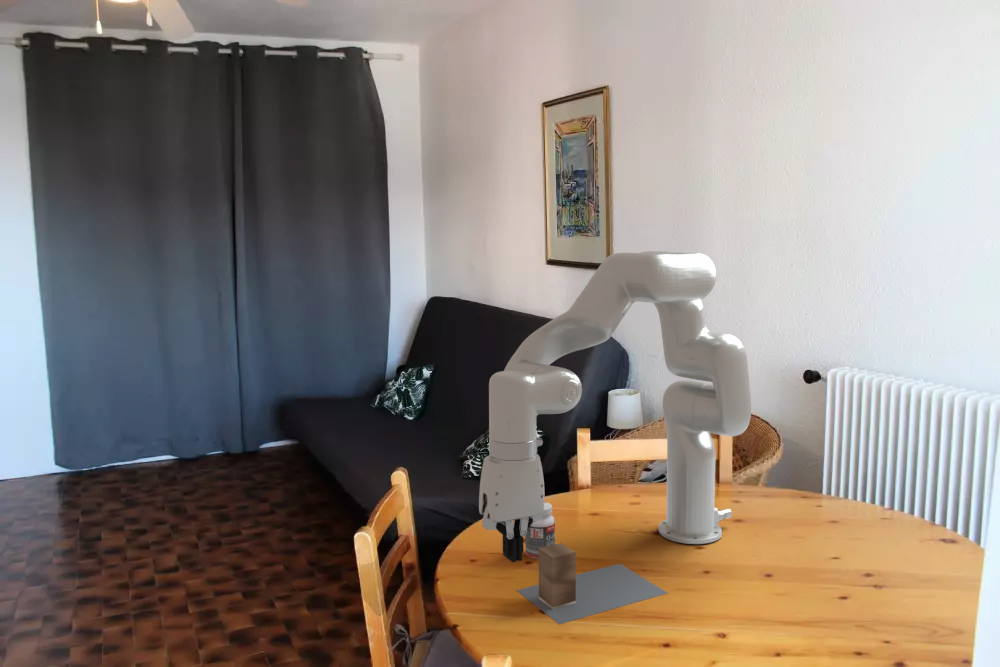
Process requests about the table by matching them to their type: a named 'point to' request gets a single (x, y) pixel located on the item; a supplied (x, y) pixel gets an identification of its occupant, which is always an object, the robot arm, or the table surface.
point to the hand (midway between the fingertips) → (513, 558)
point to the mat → (598, 593)
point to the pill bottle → (540, 533)
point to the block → (557, 575)
